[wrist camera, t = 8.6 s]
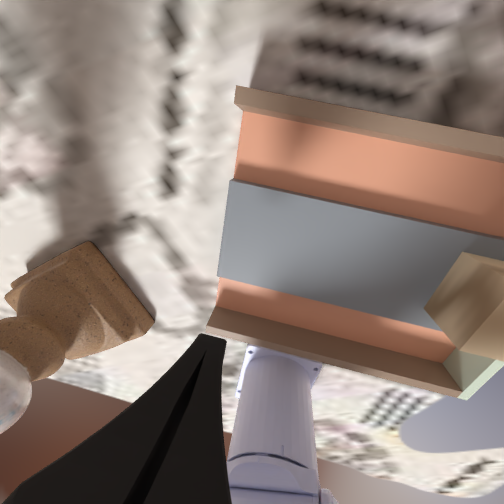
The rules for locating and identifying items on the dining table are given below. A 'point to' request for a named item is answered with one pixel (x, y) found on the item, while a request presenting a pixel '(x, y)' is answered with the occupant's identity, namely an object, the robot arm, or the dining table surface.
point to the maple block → (472, 305)
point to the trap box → (355, 237)
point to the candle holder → (62, 321)
